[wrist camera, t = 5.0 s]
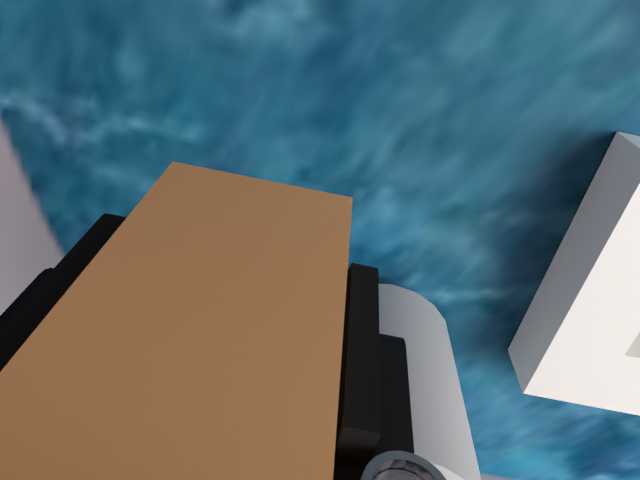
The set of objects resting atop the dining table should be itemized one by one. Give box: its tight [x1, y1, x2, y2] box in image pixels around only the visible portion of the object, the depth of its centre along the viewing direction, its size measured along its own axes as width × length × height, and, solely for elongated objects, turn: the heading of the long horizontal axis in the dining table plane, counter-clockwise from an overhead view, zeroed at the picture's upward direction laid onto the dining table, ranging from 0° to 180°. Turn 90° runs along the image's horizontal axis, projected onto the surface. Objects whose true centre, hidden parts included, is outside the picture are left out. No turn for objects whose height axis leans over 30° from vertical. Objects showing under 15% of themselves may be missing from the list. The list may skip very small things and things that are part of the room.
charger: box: [0, 162, 353, 480], centre depth 9 cm, size 4×4×8 cm
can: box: [379, 284, 481, 480], centre depth 22 cm, size 8×8×12 cm
